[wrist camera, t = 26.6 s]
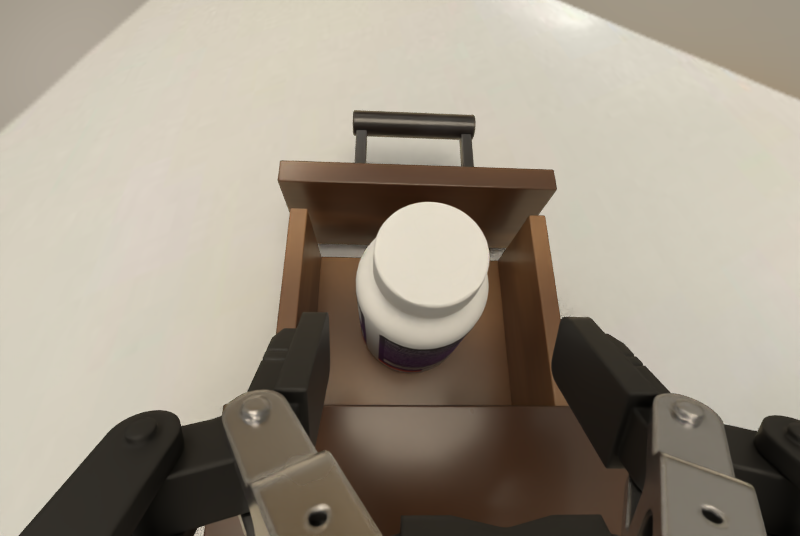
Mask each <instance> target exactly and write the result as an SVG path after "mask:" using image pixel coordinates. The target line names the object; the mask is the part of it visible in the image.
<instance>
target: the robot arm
mask: <svg viewBox="0 0 800 536" xmlns="http://www.w3.org/2000/svg"><path fill="white" fill-rule="evenodd" d="M551 370H552V375H553V379H554V381H555V383H556V384H557V386H558V388H559V390H560V391H561V393H562V395H563V396H564V398H565V400H566V401H567V403H568V405H569V407H570V408H571V410H572V412H573V413H574V415H575V417H576V418H577V420H578V422H579V424H580V425H581V427H582V429H583V430H584V432H585V434H586V435H587V437H588V439H589V441H590V442H591V444H592V446H593V447H594V449H595V451H596V452H597V454H598V456H599V458H600V459H601V461H602V463H603V464H604V466H605V468H606V469H626V470H627V472H628V473H629V474H628V477H627V479H626V482H625V489H624V501H623V514H622V527H621V536H800V420H797V419H793V418H790V417H785V416H776V415H774V416H768V417H766V418H764V419H763V421H762V423H761V425H760V427H759V429H758V432H757V431H752V430H748V429H743V428H739V427H734V426H730V425H725V424H723V421H722V420H721V418H720V417H719V416H718V414H717V413H715V412H714V411H713V410H712V409H711V408H709V407H708V406H706V405H705V404H703V403H701V402H699V401H697V400H695V399H692V398H690V397H687V396H684V395H680V394H674V393H670V392H669V391H668V390H667V388H666V387H665V386H664V385H663V384H662V383H661V382H660V381H659V380H658V379H657V378H656V377H655V376H654V375H653V374H652V373H651V372H650V371H649V370H648V369H647V367H646V366H643V363H642V362H641V361H640V360H639V359H638V358H637V357H634V354H633V353H632V352H631V351H630V350H629V349H628V348H627V346H626V345H625V344H624V343H622V342H620V341H619V340H617V339H616V338H614V337H612V336H611V335H609V334H605V333H604V332H603V331H602V330H601V329H600V328H599V326H598V325H597V324H596V323H595V322H594V321H593V320H592V319H591V318H589V317H563V318H562V319H561V321H560V324H559V328H558V333H557V337H556V342H555V347H554V351H553V356H552V362H551ZM329 373H330V334H329V315H328V312H303V313H302V315H301V318H300V320H299V323H298V326H297V328H283V329H282V330H281V331H280V332H279V333H277V334H276V335H275V336H274V337H272V339H271V341H270V344H269V346H268V348H267V351H266V352H265V354H264V357H263V361H261V363H260V365H259V367H258V370H257V372H256V374H255V376H254V378H253V381H252V383H251V385H250V387H249V389H248V391H247V393H244V394H242V395H240V396H238V397H236V398H235V399H233V400H232V401H231V402H230V403H229V404H228V405H227V406H226V407H225V409H224V411H223V413H222V416H220V417H217V418H215V419H211V420H207V421H203V422H198V423H194V424H189V425H185V426H181V424H180V420H179V418H178V417H177V416H176V415H175V414H173V413H171V412H168V411H162V410H154V411H148V412H143V413H140V414H137V415H134V416H132V417H129V418H127V419H126V420H124V421H122V422H120V423H119V424H117V425H116V426H115V427H114V428H112V429H111V430H110V431H109V432H108V433H107V434H106V436H105V437H104V438H103V439H102V440H101V441H100V443H99V444H98V445H97V446H96V447H95V448H94V449H93V451H92V452H91V453H90V454H89V455H88V456H87V458H86V459H85V460H84V461H83V462H82V463H81V464H80V466H79V467H78V468H77V469H76V470H75V471H74V473H73V474H72V475H71V476H70V477H69V478H68V479H67V481H66V482H65V483H64V484H63V485H62V486H61V488H60V489H59V490H58V491H57V492H56V493H55V494H54V496H53V497H52V498H51V499H50V500H49V501H48V503H47V504H46V505H45V506H44V507H43V508H42V509H41V511H40V512H39V513H38V514H37V515H36V516H35V517H34V519H33V520H32V521H31V522H30V523H29V524H28V526H27V527H26V528H25V529H24V530H23V531H22V532H21V534H20V535H19V536H194V534H195V532H196V530H197V528H198V527H201V526H205V525H208V524H211V523H215V522H218V521H221V520H225V519H228V518H231V517H234V516H238V517H239V520H240V523H241V526H242V529H243V532H244V535H245V536H383V535H382V534H381V532H380V530H379V529H378V527H377V526H376V524H375V522H374V521H373V519H372V518H371V516H370V514H369V513H368V511H367V510H366V508H365V506H364V505H363V503H362V502H361V500H360V498H359V497H358V495H357V494H356V492H355V490H354V489H353V487H352V486H351V484H350V482H349V481H348V479H347V478H346V476H345V474H344V473H343V471H342V470H341V468H340V466H339V465H338V463H337V462H336V460H335V458H334V457H333V455H332V454H331V453H330V452H329V451H328V450H323V451H321V452H319V453H318V452H317V450H316V449H315V446H316V441H317V435H318V430H319V425H320V420H321V415H322V410H323V405H324V400H325V395H326V390H327V385H328V380H329ZM392 536H619V535H616V534H612V533H610V531H609V529H608V527H607V525H606V523H605V521H604V519H603V517H602V515H601V514H587V515H550V516H546V517H543V518H539V519H536V520H532V521H529V522H526V523H522V524H519V525H515V526H512V527H498V526H494V525H490V524H486V523H482V522H477V521H473V520H469V519H465V518H461V517H456V516H452V515H401V519H400V533H398V534H395V535H392Z"/></svg>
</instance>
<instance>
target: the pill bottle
mask: <svg viewBox="0 0 800 536" xmlns="http://www.w3.org/2000/svg"><path fill="white" fill-rule="evenodd" d="M488 268H489V248H488V244H487V241H486V238H485V236H484V234H483V232H482V231H481V229H480V228H479V226H478V225H477V224H476V223H475V222H474V221H473V220H472V219H471V218H470V217H469V216H468V215H467V214H465V213H464V212H462V211H460V210H459V209H457V208H455V207H452V206H449V205H446V204H442V203H437V202H420V203H415V204H411V205H408V206H406V207H403V208H401V209H399V210H398V211H396V212H395V213H393V214H392V215H391V216H390V217H389V218H388V219H387V220H386V221H385V222H384V223H383V225H382V226H381V228H380V230H379V232H378V234H377V237H376V238H375V239H374V240H373V241H372V242H371V243H370V245H369V246H368V247H367V249H366V250H365V252H364V253H363V255H362V257H361V260H360V262H359V265H358V269H357V274H356V296H357V303H358V311H359V318H360V325H361V332H362V335H363V339H364V341H365V343H366V346H367V347H368V349H369V351H370V352H371V353H372V355H373V356H374V357H375V358H376V359H377V360H378V361H379V362H381V363H382V364H384V365H385V366H387V367H389V368H391V369H393V370H396V371H399V372H404V373H419V372H424V371H427V370H430V369H432V368H434V367H436V366H438V365H439V364H440V363H442V362H443V361H444V360H445V359H446V358H447V357H449V355H450V354H451V353H452V352H453V351H454V350H455V348H456V347H457V346H458V345H459V343H460V342H461V341H462V340H463V339H464V338H465V336H466V335H467V334H468V333H469V332H470V331H471V330H472V328H473V327H474V326H475V324H476V323H477V321H478V320H479V318H480V317H481V315H482V313H483V311H484V308H485V305H486V302H487V297H488V288H489V284H488V275H487V272H488Z"/></svg>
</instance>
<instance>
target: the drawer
mask: <svg viewBox="0 0 800 536" xmlns="http://www.w3.org/2000/svg"><path fill="white" fill-rule="evenodd" d="M474 133H475V116H474V115H458V114H434V113H409V112H384V111H360V110H354V112H353V134H354V136H356V148H355V163H340V162H311V161H280V166H279V174H278V183H279V185H280V188H281V191H282V193H283V196H284V199H285V201H286V204H287V207H288V209H289V212H290V217H289V225H288V234H287V243H286V252H285V260H284V269H283V278H282V286H281V295H280V304H279V313H278V321H277V330H276V334H277V333H279V332H280V331H281V330H282V329H283V328H297V326H298V323H299V320H300V318H301V315H302V313H303V312H328V315H329V334H330V373H329V380H328V385H327V390H326V395H325V400H324V405H541V406H569V405H568V403H567V401H566V400H565V398H564V396H563V395H562V393H561V391H560V390H559V388H558V386H557V384H556V383H555V381H554V379H553V375H552V370H551V362H552V356H553V351H554V347H555V342H556V337H557V333H558V328H559V324H560V321H561V319H560V312H559V306H558V299H557V292H556V286H555V279H554V272H553V266H552V259H551V252H550V246H549V239H548V233H547V226H546V219H545V216H541V215H539V213H540V212H541V211H542V209H543V208H544V207H545V205H546V204H547V202H548V201H549V200H550V198H551V197H552V196H553V194H554V193H555V191H556V190H557V187H556V181H555V175H554V170H546V169H516V168H487V167H474V163H473V151H472V139H473V137H474ZM367 136H373V137H400V138H426V139H453V140H459V141H460V156H461V167H458V166H428V165H399V164H370V163H366V153H367ZM420 202H437V203H442V204H446V205H449V206H452V207H455V208H457V209H459V210H460V211H462V212H464V213H465V214H467V215H468V216H469V217H470V218H471V219H472V220H473V221H474V222H475V223H476V224H477V225H478V226H479V228H480V229H481V231H482V232H483V234H484V236H485V238H486V241H487V244H488V248H506V250H505V251H504V253H503V254H502V256H501V257H500V259H499V260H498V261H489V268H488V272H487V275H488V284H489V288H488V297H487V302H486V305H485V308H484V311H483V313H482V315H481V317H480V318H479V320H478V321H477V323H476V324H475V326H474V327H473V328H472V330H471V331H470V332H469V333H468V334H467V335H466V336H465V338H464V339H463V340H462V341H461V342H460V343H459V345H458V346H457V347H456V348H455V350H454V351H453V352H452V353H451V354H450V355H449V357H447V358H446V359H445V360H444V361H443V362H442V363H440V364H439V365H438V366H436V367H434V368H432V369H430V370H427V371H424V372H419V373H404V372H399V371H396V370H393V369H391V368H389V367H387V366H385V365H384V364H382V363H381V362H379V361H378V360H377V359H376V358H375V357H374V356H373V355H372V353H371V352H370V351H369V349H368V347H367V346H366V343H365V341H364V339H363V335H362V332H361V325H360V318H359V311H358V303H357V296H356V274H357V269H358V265H359V262H360V260H361V258H348V257H321V254H320V250H319V247H318V244H352V245H370V243H371V242H372V241H373V240H374V239H375V238H376V237H377V234H378V232H379V230H380V228H381V226H382V225H383V223H384V222H385V221H386V220H387V219H388V218H389V217H390V216H391V215H392V214H393V213H395V212H396V211H398V210H399V209H401V208H403V207H406V206H408V205H411V204H415V203H420Z"/></svg>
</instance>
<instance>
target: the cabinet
mask: <svg viewBox="0 0 800 536" xmlns="http://www.w3.org/2000/svg"><path fill="white" fill-rule="evenodd" d="M227 405H228V404H225V405H224V406H223V411H224V409H225V407H226V406H227ZM222 413H223V412H222ZM315 449H316V450H317V452H318V453H319V452H321V451H323V450H328V451H329V452H330V453H331V454H332V455H333V457H334V458H335V460H336V462H337V463H338V465H339V466H340V468H341V470H342V471H343V473H344V474H345V476H346V478H347V479H348V481H349V482H350V484H351V486H352V487H353V489H354V490H355V492H356V494H357V495H358V497H359V498H360V500H361V502H362V503H363V505H364V506H365V508H366V510H367V511H368V513H369V514H370V516H371V518H372V519H373V521H374V522H375V524H376V526H377V527H378V529H379V530H380V532H381V534H382V535H383V536H392V535H395V534H398V533H400V519H401V515H452V516H456V517H461V518H465V519H469V520H473V521H477V522H482V523H486V524H490V525H494V526H498V527H512V526H515V525H519V524H522V523H526V522H529V521H532V520H536V519H539V518H543V517H546V516H550V515H587V514H601V515H602V517H603V519H604V521H605V523H606V525H607V527H608V529H609V531H610V533H612V534H616V535H619V536H621V527H622V514H623V501H624V489H625V482H626V479H627V477H628V474H629V473H628V472H627V470H626V469H606V468H605V466H604V464H603V463H602V461H601V459H600V458H599V456H598V454H597V452H596V451H595V449H594V447H593V446H592V444H591V442H590V441H589V439H588V437H587V435H586V434H585V432H584V430H583V429H582V427H581V425H580V424H579V422H578V420H577V418H576V417H575V415H574V413H573V412H572V410H571V408H570V407H569V406H541V405H323V410H322V415H321V420H320V425H319V430H318V435H317V441H316V446H315ZM204 536H245V535H244V532H243V529H242V526H241V523H240V520H239V517H238V516H234V517H231V518H228V519H225V520H221V521H218V522H215V523H211V524H208V525H205V529H204Z"/></svg>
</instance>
